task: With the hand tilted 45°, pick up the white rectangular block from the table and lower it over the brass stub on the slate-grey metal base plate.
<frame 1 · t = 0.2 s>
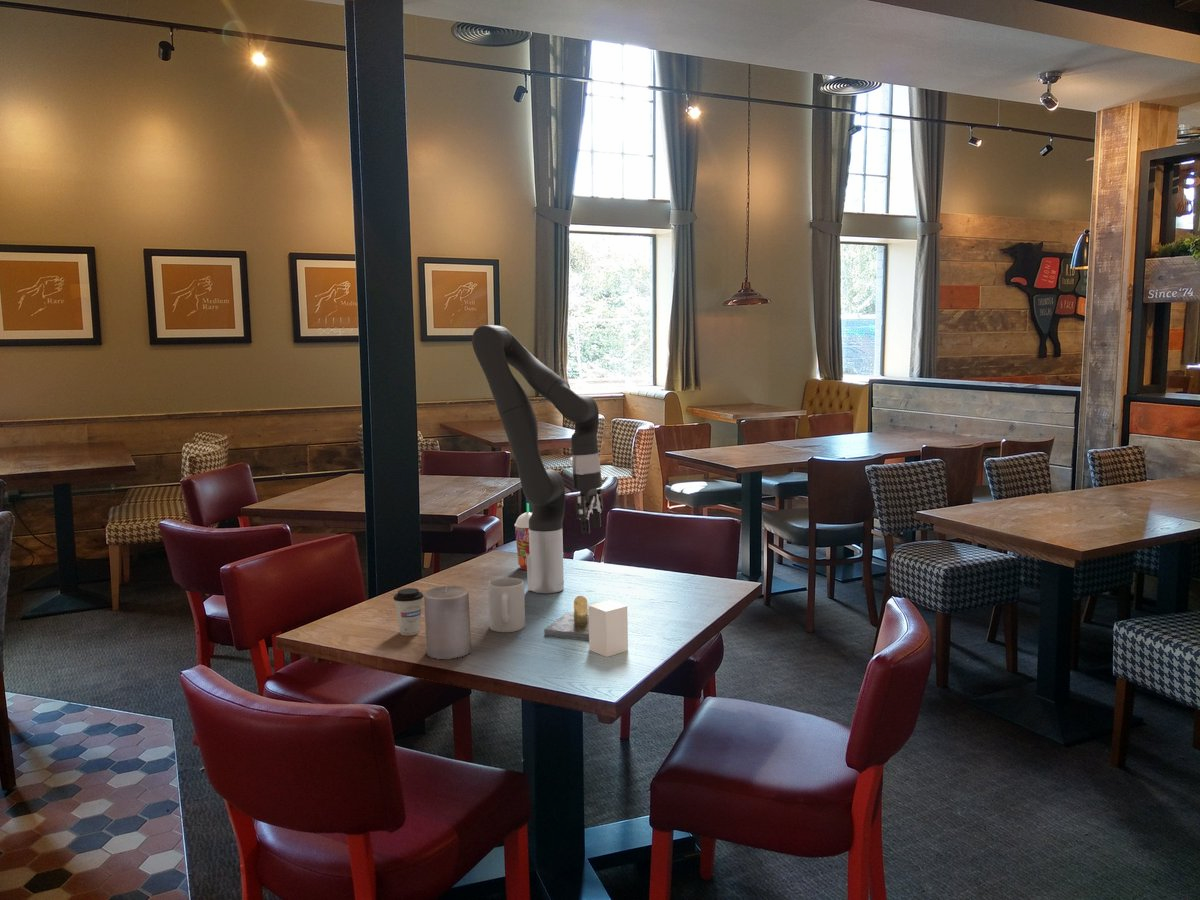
hand: (591, 530, 226), 17 cm above the table, tool pointing down, fingers open, 8 cm apart
mug: (507, 630, 199), on the table
base plate: (581, 629, 198), on the table
coffee cup: (410, 632, 198), on the table
smoothie: (529, 568, 257), on the table
pillar candle: (449, 653, 184), on the table
white rectangular block: (608, 650, 184), on the table
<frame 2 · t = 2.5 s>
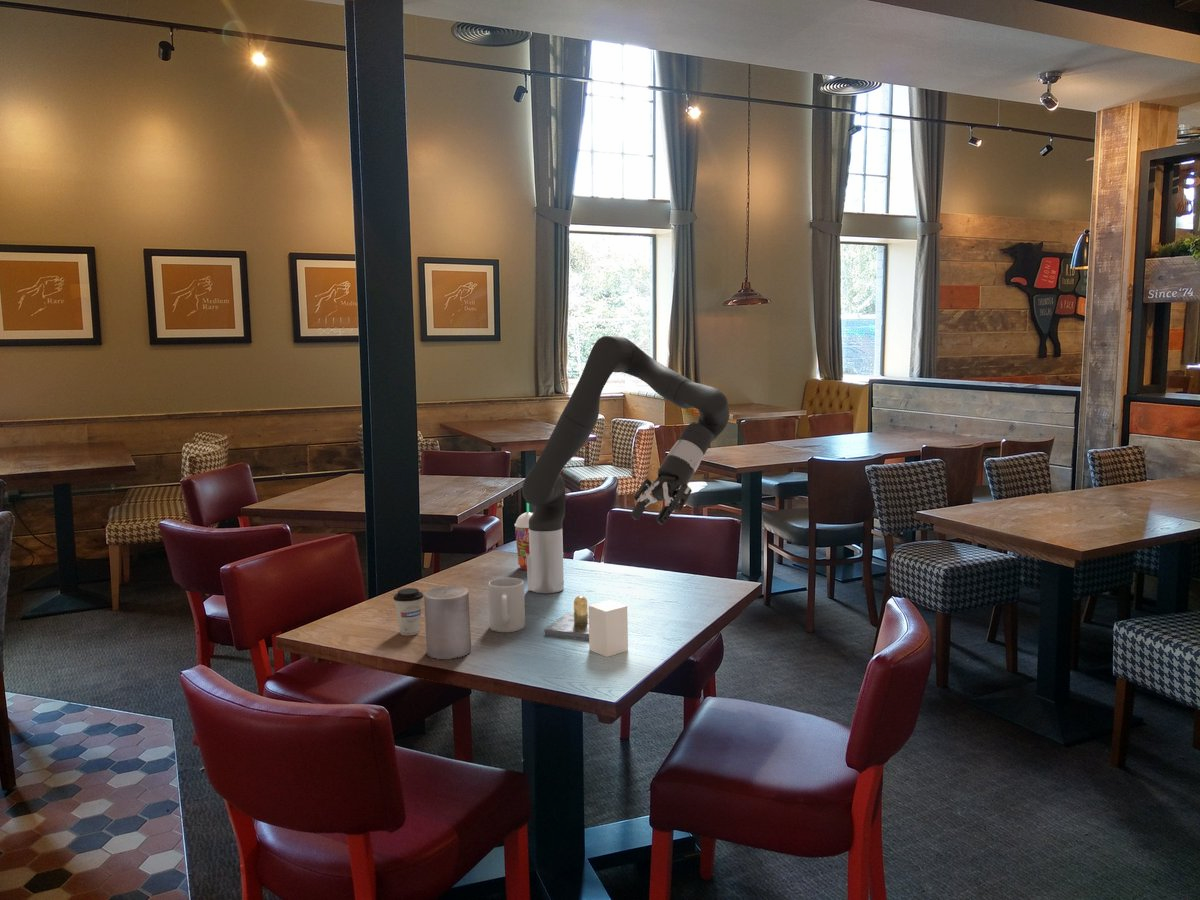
hand: (646, 520, 189), 27 cm above the table, tool tilted 45°, fingers open, 8 cm apart
nothing on the table moved.
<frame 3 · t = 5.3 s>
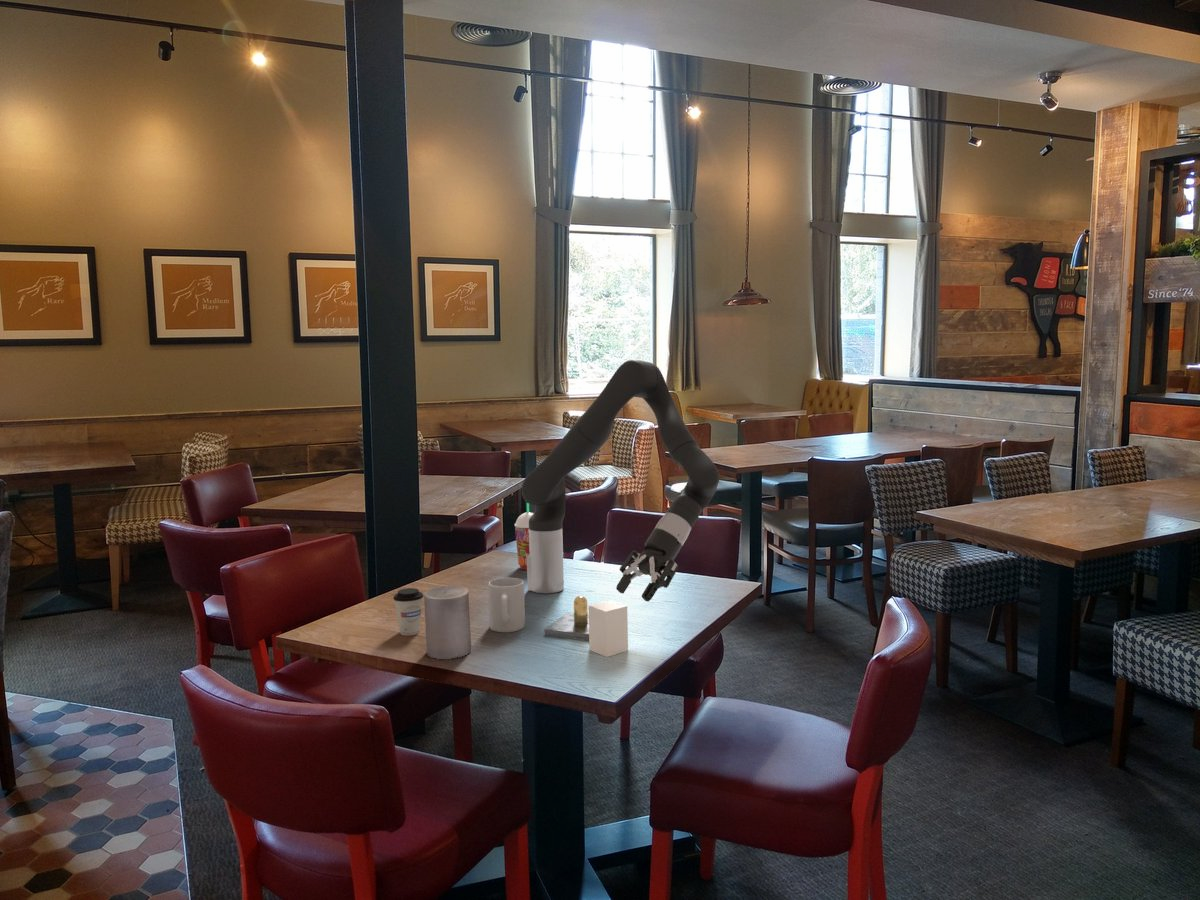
hand: (631, 595, 187), 11 cm above the table, tool tilted 45°, fingers open, 8 cm apart
nothing on the table moved.
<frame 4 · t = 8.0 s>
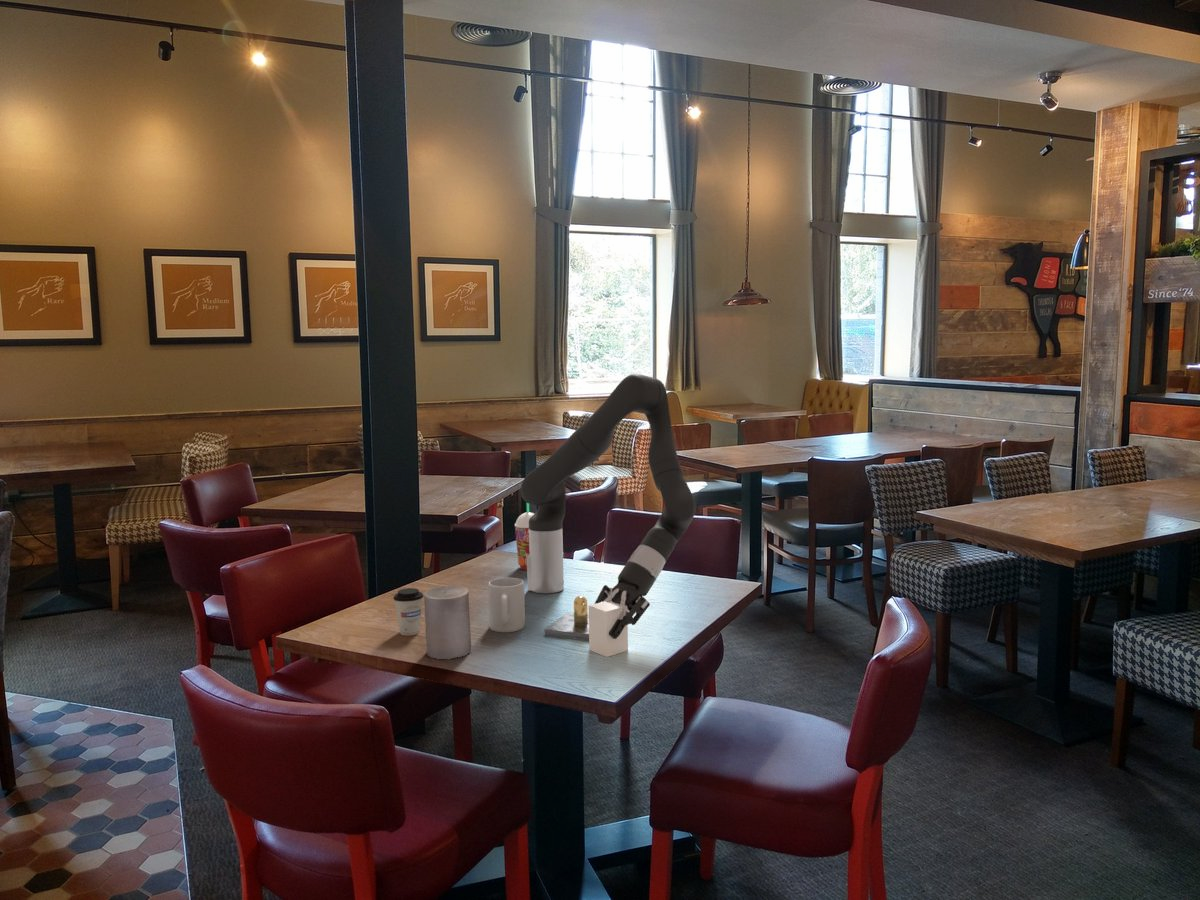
hand: (602, 632, 182), 4 cm above the table, tool tilted 45°, fingers closed on white rectangular block, 6 cm apart
white rectangular block: (608, 650, 184), on the table, touching gripper
everything else where it was.
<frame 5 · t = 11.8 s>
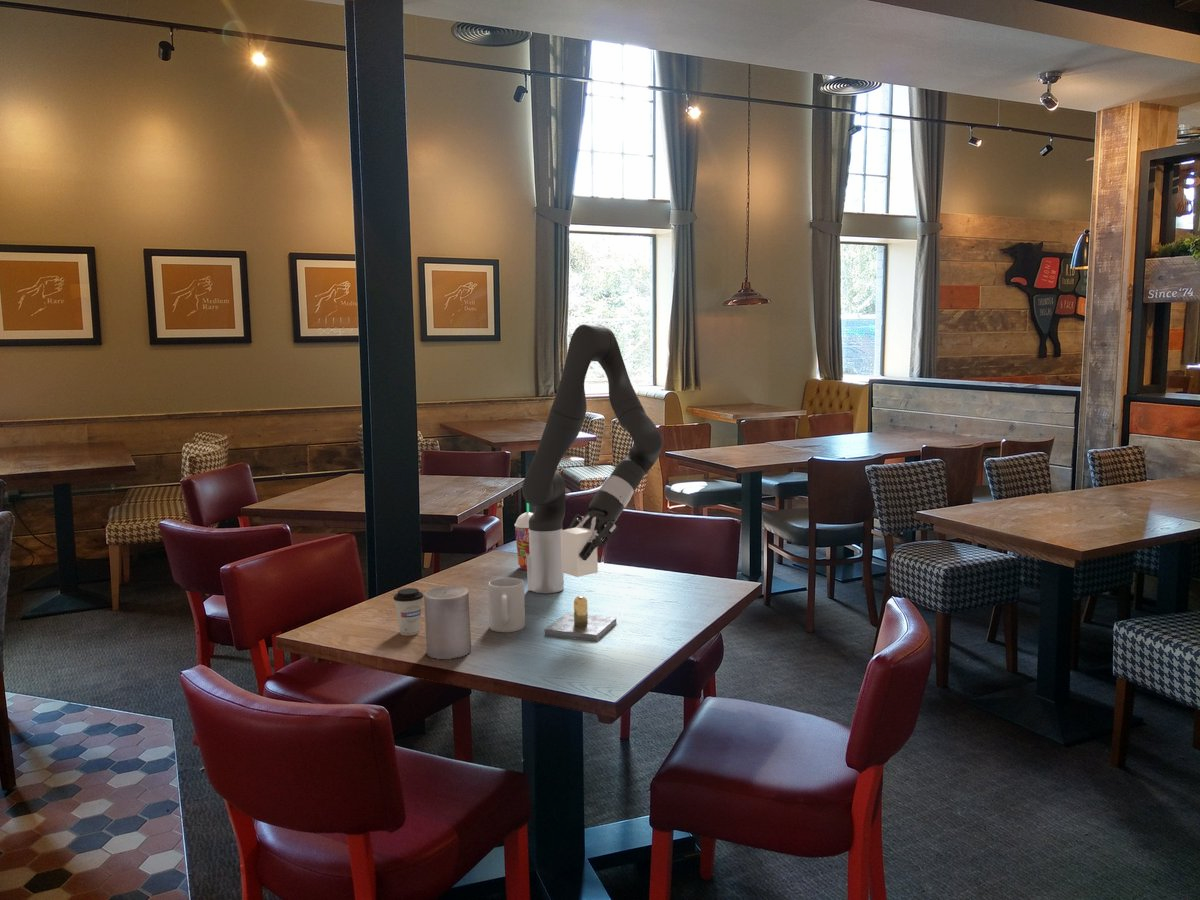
hand: (573, 555, 195), 18 cm above the table, tool tilted 45°, fingers closed on white rectangular block, 6 cm apart
white rectangular block: (579, 572, 196), point 14 cm above the table, touching gripper
everything else where it was.
when the fingers open (7 cm above the table, at t = 15.4 s): white rectangular block stays where it is, resting on base plate.
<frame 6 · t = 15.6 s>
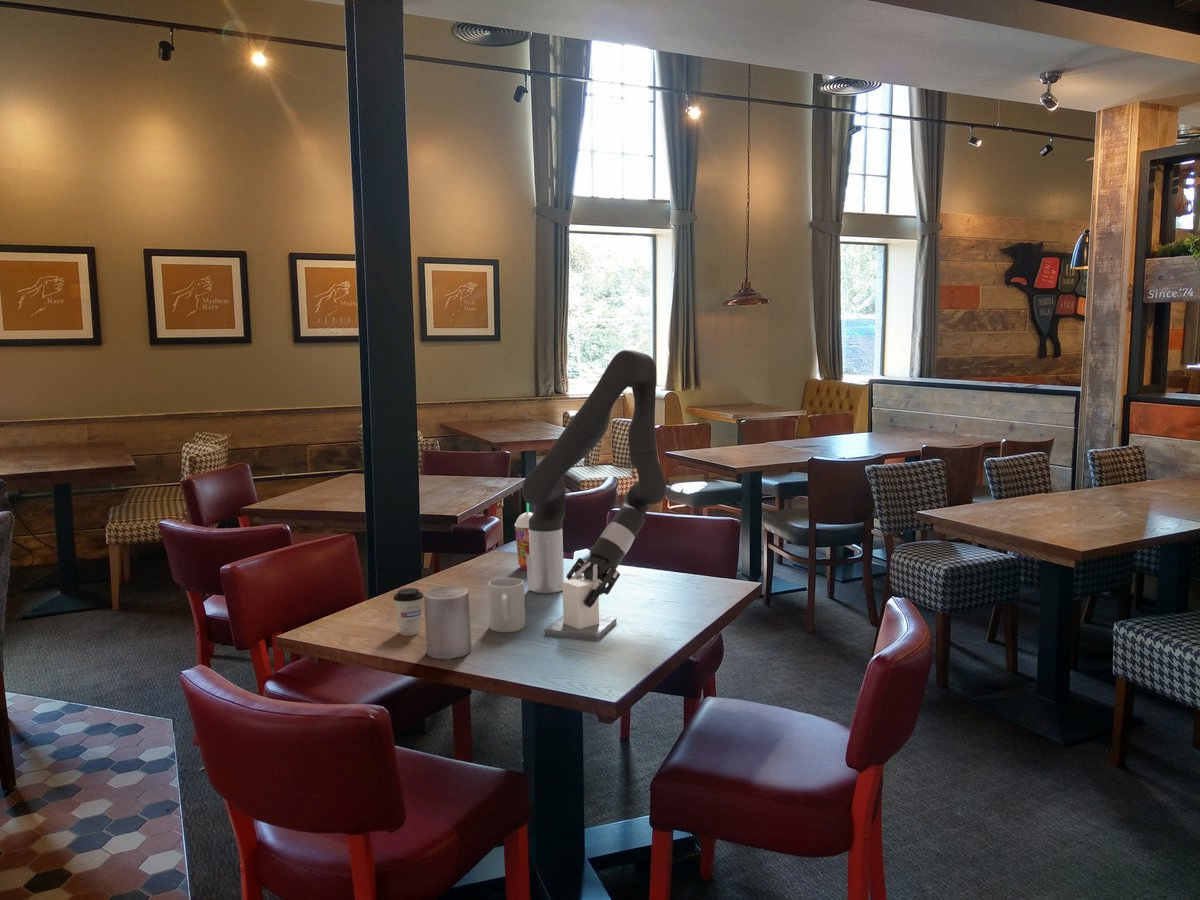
hand: (575, 601, 196), 7 cm above the table, tool tilted 45°, fingers open, 8 cm apart
white rectangular block: (581, 623, 198), point 1 cm above the table, touching base plate
everything else where it was.
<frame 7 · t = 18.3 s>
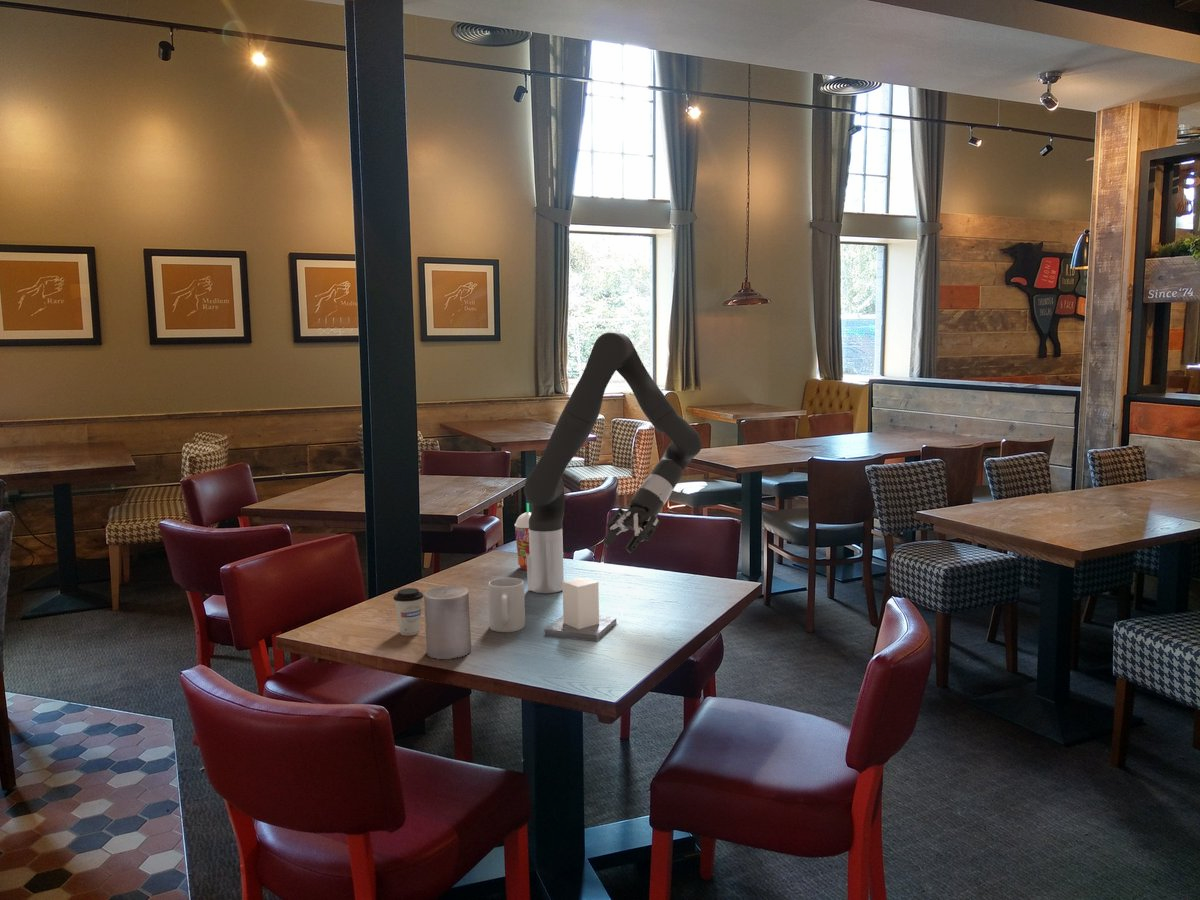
hand: (616, 547, 205), 17 cm above the table, tool tilted 45°, fingers open, 8 cm apart
nothing on the table moved.
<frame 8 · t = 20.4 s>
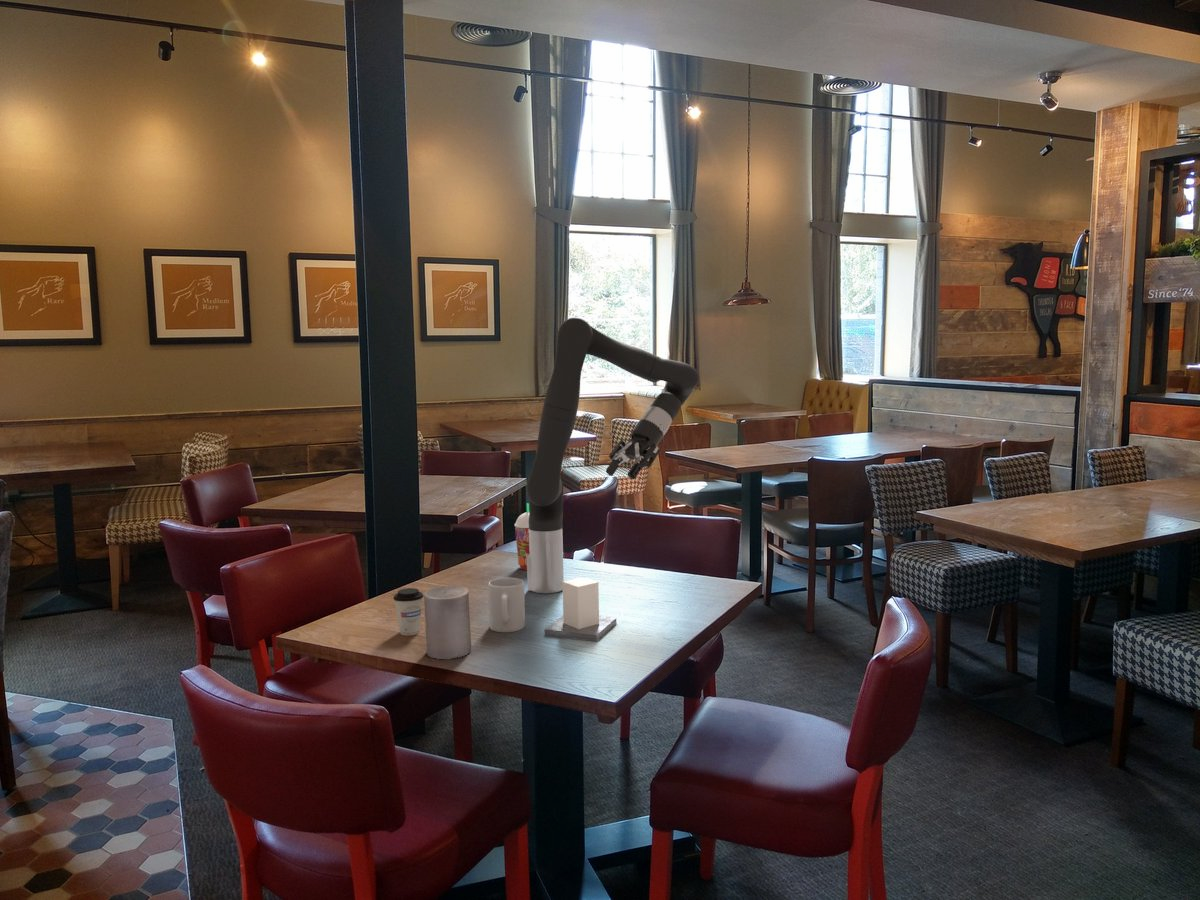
hand: (619, 475, 213), 34 cm above the table, tool tilted 45°, fingers open, 8 cm apart
nothing on the table moved.
at the end: white rectangular block 0.1 cm off-centre on the base plate, point 1.5 cm above the base plate's base; white rectangular block tilted 0°; the gripper is holding nothing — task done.
